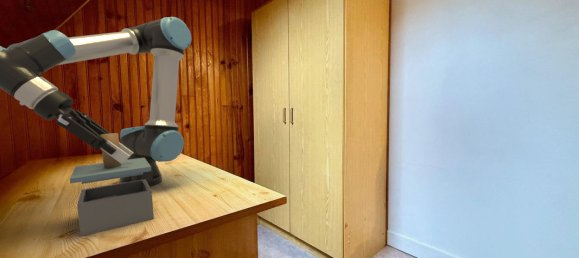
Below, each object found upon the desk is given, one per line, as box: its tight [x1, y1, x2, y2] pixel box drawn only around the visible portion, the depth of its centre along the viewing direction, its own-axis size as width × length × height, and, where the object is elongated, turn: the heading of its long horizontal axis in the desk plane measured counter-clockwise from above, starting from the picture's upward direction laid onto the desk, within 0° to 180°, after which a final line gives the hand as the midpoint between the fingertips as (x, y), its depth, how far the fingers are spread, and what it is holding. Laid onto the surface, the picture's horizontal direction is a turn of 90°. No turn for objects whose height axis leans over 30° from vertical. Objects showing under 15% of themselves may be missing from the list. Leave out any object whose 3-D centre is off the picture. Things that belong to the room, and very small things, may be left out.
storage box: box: [76, 179, 155, 237], centre depth 74 cm, size 14×16×8 cm
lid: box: [69, 132, 151, 185], centre depth 72 cm, size 15×17×11 cm
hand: (127, 157), depth 73 cm, fingers closed on lid, 4 cm apart
